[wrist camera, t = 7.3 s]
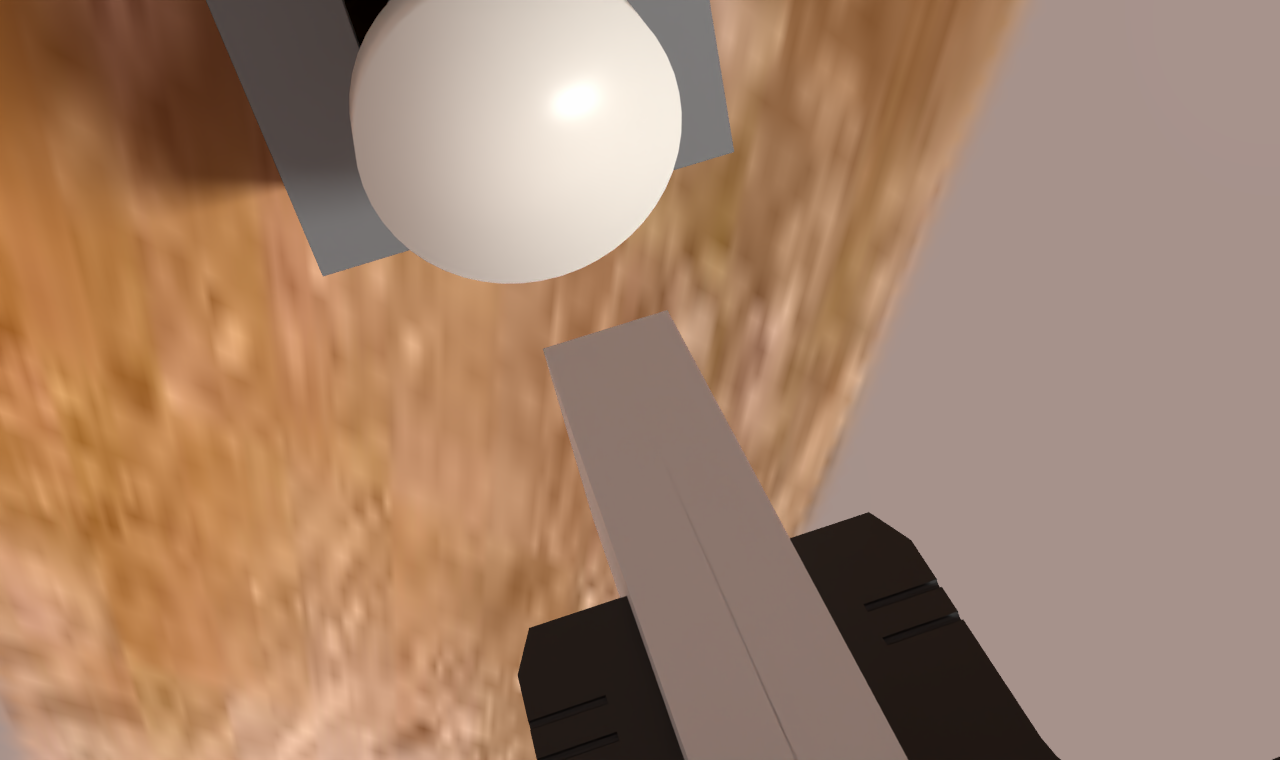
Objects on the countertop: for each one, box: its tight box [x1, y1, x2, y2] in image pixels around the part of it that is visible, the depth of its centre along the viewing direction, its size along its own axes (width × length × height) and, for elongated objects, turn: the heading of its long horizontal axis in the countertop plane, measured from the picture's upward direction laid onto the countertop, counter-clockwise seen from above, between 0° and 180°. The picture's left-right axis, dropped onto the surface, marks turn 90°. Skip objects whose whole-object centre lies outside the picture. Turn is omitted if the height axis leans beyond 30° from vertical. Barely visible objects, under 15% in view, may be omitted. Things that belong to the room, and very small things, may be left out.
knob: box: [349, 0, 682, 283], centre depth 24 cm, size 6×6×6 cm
